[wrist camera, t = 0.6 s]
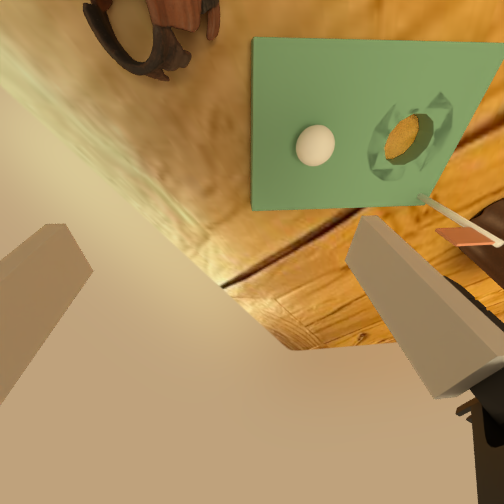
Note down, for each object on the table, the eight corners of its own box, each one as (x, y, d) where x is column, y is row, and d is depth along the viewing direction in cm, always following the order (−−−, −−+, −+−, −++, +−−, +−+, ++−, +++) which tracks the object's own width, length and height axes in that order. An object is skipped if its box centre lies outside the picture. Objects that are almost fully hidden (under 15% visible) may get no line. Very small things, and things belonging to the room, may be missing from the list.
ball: (294, 121, 24) (304, 128, 20) (330, 121, 24) (345, 128, 21) (290, 160, 26) (298, 171, 23) (322, 160, 26) (335, 171, 23)
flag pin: (381, 186, 32) (460, 243, 21) (412, 186, 32) (506, 240, 21) (378, 192, 32) (455, 249, 21) (409, 191, 33) (500, 247, 22)
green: (250, 202, 32) (252, 211, 30) (251, 40, 21) (253, 37, 19) (413, 197, 34) (424, 205, 32) (488, 46, 23) (512, 43, 21)
